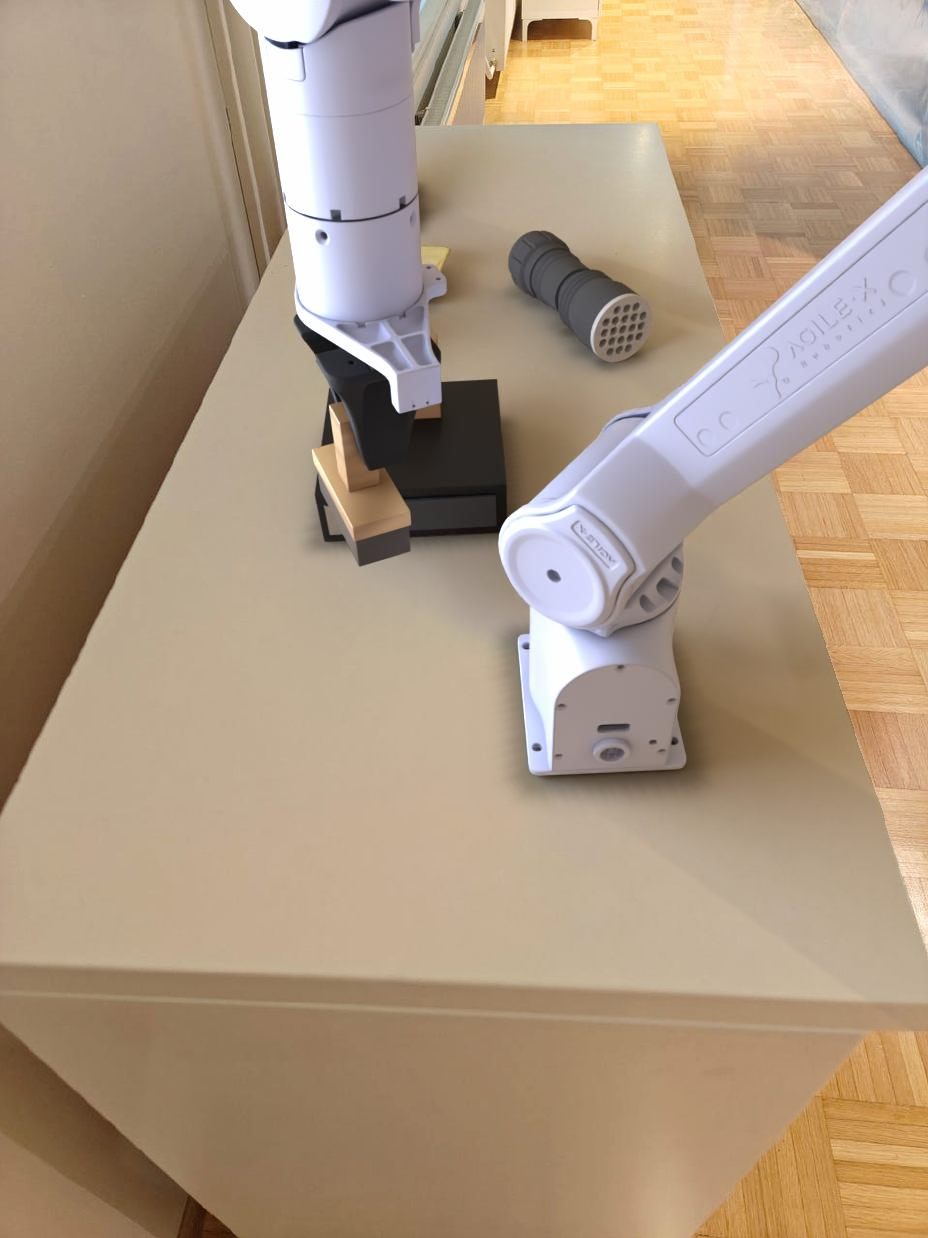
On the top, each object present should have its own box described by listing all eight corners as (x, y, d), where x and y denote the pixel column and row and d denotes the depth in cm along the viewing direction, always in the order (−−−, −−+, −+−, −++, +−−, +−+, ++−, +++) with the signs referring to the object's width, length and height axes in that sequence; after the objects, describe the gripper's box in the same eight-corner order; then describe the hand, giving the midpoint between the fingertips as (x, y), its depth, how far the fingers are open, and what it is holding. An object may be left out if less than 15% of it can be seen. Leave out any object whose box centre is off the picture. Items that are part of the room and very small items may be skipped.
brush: (358, 569, 49) (343, 458, 44) (318, 489, 54) (299, 379, 48) (413, 552, 50) (405, 441, 45) (369, 475, 55) (357, 366, 49)
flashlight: (502, 290, 82) (501, 230, 78) (554, 276, 84) (556, 216, 80) (591, 369, 72) (595, 305, 69) (649, 352, 74) (656, 288, 70)
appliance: (507, 535, 59) (507, 486, 57) (323, 544, 60) (313, 496, 57) (498, 425, 68) (497, 378, 65) (337, 434, 68) (328, 387, 65)
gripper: (509, 246, 35) (502, 512, 45) (381, 118, 44) (399, 363, 54) (335, 284, 33) (368, 552, 44) (238, 142, 42) (284, 392, 53)
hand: (377, 450), depth 49 cm, fingers closed on brush, 2 cm apart
